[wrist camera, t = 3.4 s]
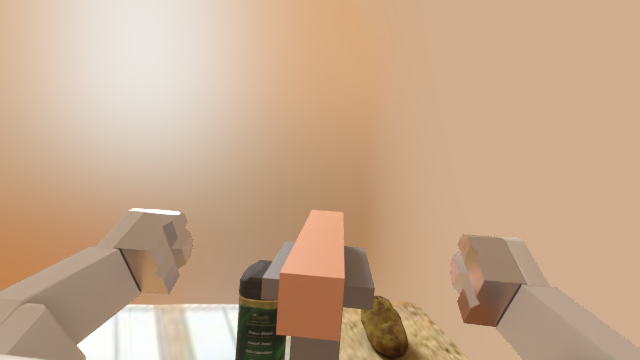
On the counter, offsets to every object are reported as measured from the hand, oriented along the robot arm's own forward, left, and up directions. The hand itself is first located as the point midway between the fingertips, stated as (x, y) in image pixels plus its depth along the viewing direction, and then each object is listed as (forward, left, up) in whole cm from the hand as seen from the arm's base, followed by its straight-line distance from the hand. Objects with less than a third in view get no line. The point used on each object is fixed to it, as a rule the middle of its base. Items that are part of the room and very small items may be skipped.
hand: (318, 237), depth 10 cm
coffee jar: (+13, +40, -35) cm, 55 cm away
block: (+11, +18, -9) cm, 22 cm away
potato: (+38, +39, -35) cm, 65 cm away
